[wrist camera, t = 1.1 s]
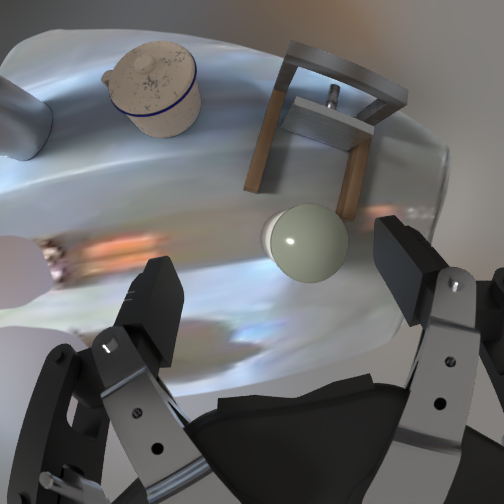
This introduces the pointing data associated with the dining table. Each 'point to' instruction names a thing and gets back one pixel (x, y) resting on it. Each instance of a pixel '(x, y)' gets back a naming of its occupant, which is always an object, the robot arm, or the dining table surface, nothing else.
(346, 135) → the pusher
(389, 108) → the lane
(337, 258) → the jar
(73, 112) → the dining table surface
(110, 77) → the teacup with lid
